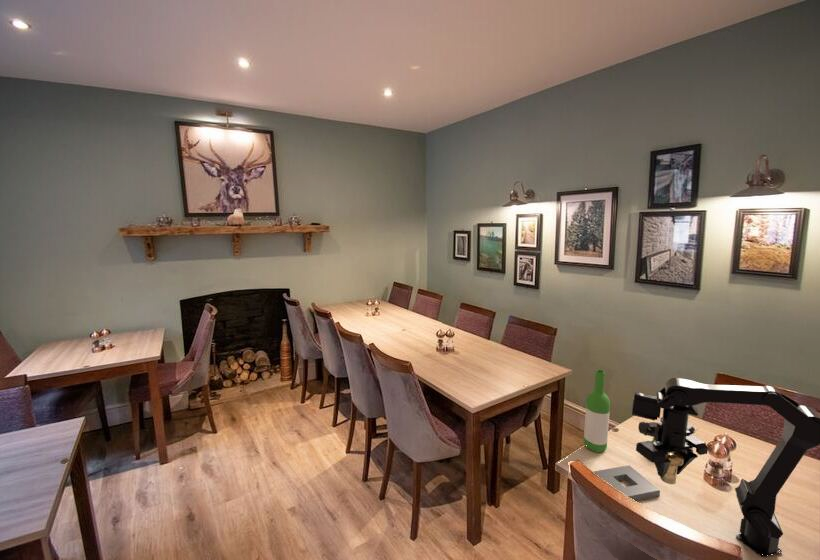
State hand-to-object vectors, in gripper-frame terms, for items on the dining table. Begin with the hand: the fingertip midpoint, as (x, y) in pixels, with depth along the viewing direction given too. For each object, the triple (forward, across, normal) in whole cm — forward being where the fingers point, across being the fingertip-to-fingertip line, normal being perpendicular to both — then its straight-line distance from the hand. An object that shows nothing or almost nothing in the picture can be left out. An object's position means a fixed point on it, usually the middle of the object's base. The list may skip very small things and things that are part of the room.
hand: (668, 475), depth 104 cm
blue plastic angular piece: (+12, -24, -24) cm, 36 cm away
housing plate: (+12, +2, -12) cm, 17 cm away
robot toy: (+12, -39, -33) cm, 52 cm away
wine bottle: (+12, -3, -32) cm, 34 cm away
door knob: (+2, 0, 0) cm, 2 cm away
